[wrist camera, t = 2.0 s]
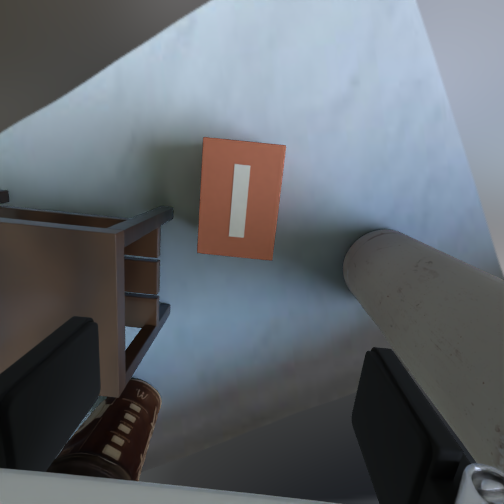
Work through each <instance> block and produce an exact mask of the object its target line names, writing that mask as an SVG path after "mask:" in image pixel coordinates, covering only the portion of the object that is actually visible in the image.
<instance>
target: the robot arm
mask: <svg viewBox="0 0 504 504" xmlns="http://www.w3.org/2000/svg"><path fill="white" fill-rule="evenodd" d="M100 390H101V382H100V358H99V334H98V324H97V323H96V322H94V320H93V319H92V318H90V317H80V316H73V317H71V318H70V319H69V320H68V321H66V322H65V323H64V324H63V325H61V326H60V327H59V328H58V329H56V330H55V331H54V332H52V333H51V334H50V335H49V336H47V337H46V338H45V339H44V340H42V341H41V342H40V343H39V344H37V345H36V346H35V347H34V348H32V349H31V350H30V351H28V352H27V353H26V354H25V355H23V356H22V357H21V358H20V359H18V360H17V361H16V362H15V363H13V364H12V365H11V366H10V367H8V368H7V369H6V370H5V371H3V372H2V373H1V374H0V504H339V503H330V502H321V501H313V500H304V499H295V498H286V497H277V496H269V495H260V494H251V493H242V492H233V491H232V492H231V491H223V490H214V489H205V488H195V487H186V486H177V485H167V484H158V483H149V482H139V481H129V480H119V479H109V478H100V477H90V476H80V475H70V474H60V473H50V472H46V471H47V469H48V468H49V466H50V465H51V464H52V462H53V461H54V459H55V458H56V456H57V455H58V454H59V452H60V451H61V449H62V448H63V447H64V445H65V444H66V442H67V441H68V440H69V438H70V437H71V435H72V434H73V433H74V431H75V430H76V428H77V427H78V425H79V424H80V423H81V421H82V420H83V418H84V417H85V416H86V414H87V413H88V411H89V410H90V409H91V407H92V406H93V404H94V403H95V402H96V400H97V398H98V396H99V394H100ZM352 425H353V428H354V431H355V434H356V437H357V440H358V443H359V446H360V449H361V451H362V454H363V457H364V460H365V463H366V466H367V469H368V472H369V475H370V477H371V480H372V483H373V486H374V489H375V492H376V495H377V498H378V501H379V504H504V472H503V471H501V470H498V469H496V468H494V467H492V466H489V465H485V464H479V463H473V464H471V463H470V461H469V460H468V459H467V457H466V456H465V454H464V453H463V450H462V449H461V447H460V446H459V444H458V443H457V442H456V440H455V439H454V438H453V436H452V435H451V433H450V432H449V430H448V429H447V427H446V426H445V425H444V423H443V422H442V420H441V419H440V418H439V416H438V415H437V413H436V412H435V411H434V409H433V408H432V406H431V405H430V403H429V402H428V401H427V399H426V398H425V396H424V395H423V393H422V392H421V390H420V389H419V388H418V386H417V385H416V384H415V382H414V381H413V379H412V378H411V376H410V375H409V373H408V372H407V371H406V369H405V368H404V366H403V365H402V363H401V362H400V361H399V359H398V358H397V356H396V355H395V353H394V352H393V351H392V350H391V349H386V348H377V347H373V348H372V350H371V351H367V352H366V355H365V359H364V363H363V368H362V372H361V377H360V381H359V385H358V390H357V395H356V399H355V403H354V408H353V412H352Z"/></svg>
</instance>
